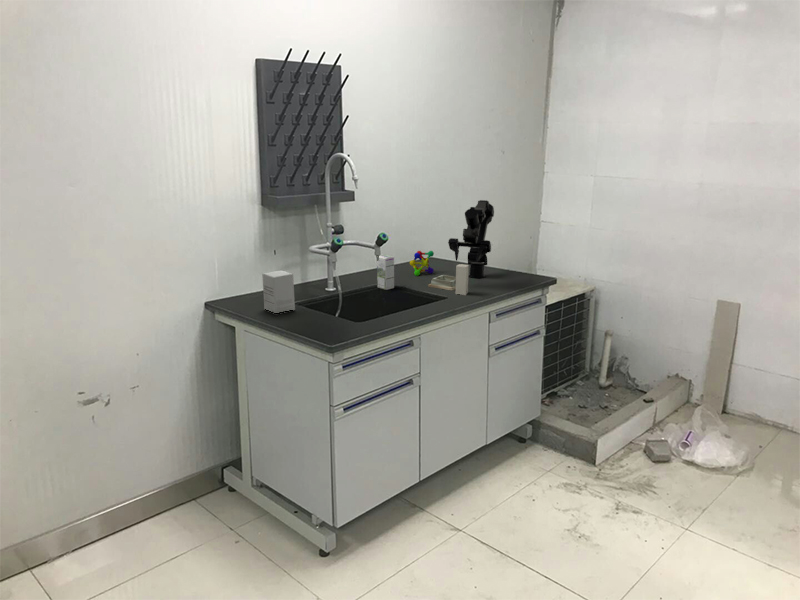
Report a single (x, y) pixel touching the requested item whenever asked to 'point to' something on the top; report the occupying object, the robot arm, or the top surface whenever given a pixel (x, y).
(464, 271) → the fuselage block
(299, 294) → the top surface
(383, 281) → the syrup box
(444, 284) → the jig
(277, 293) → the supplement box
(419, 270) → the molecular model
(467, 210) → the robot arm
